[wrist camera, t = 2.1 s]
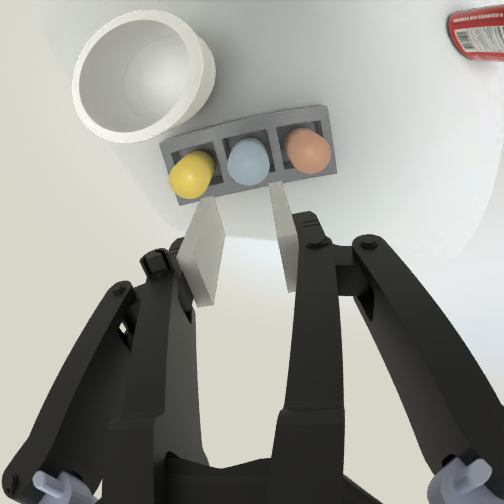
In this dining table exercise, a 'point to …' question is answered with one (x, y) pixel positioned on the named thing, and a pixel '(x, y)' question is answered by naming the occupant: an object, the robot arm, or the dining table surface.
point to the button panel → (243, 126)
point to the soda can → (479, 32)
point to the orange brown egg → (307, 150)
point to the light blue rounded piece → (248, 162)
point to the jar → (142, 76)
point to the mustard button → (192, 174)
